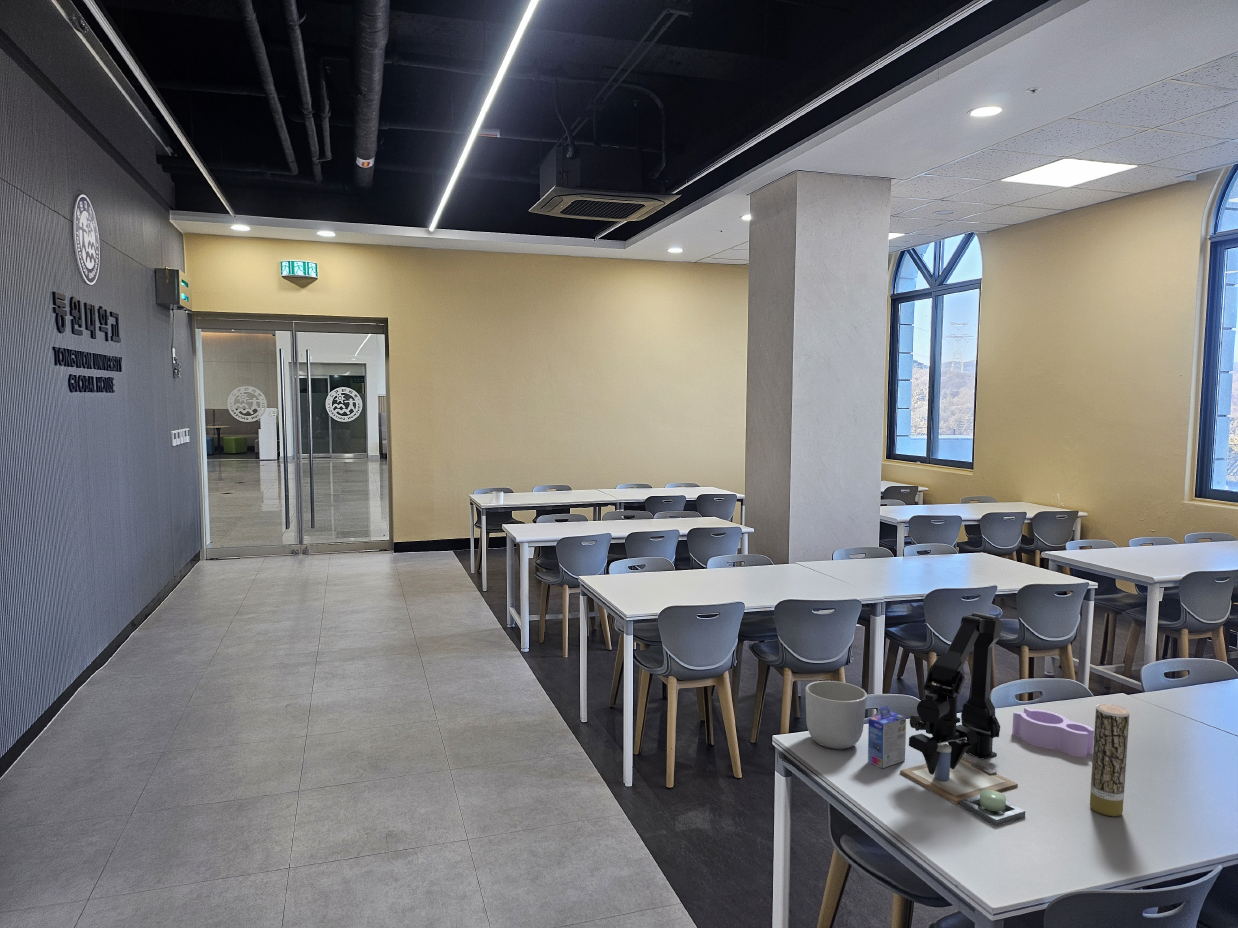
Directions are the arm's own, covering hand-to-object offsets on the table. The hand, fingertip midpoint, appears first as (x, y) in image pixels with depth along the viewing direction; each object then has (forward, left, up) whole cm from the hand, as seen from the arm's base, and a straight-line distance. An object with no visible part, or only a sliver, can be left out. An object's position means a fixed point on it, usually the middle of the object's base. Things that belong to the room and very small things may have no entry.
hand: (941, 771), depth 204 cm
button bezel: (+1, +16, -3) cm, 16 cm away
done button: (+1, +16, -1) cm, 16 cm away
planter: (+9, -30, -3) cm, 31 cm away
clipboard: (-5, +1, -3) cm, 6 cm away
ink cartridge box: (+4, -15, -3) cm, 16 cm away
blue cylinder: (0, 0, -2) cm, 2 cm away
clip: (-50, -4, -3) cm, 50 cm away
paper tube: (-25, +27, -3) cm, 37 cm away
